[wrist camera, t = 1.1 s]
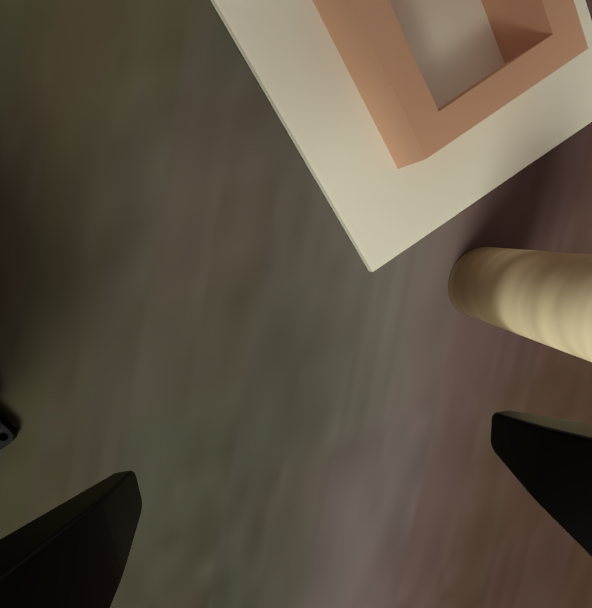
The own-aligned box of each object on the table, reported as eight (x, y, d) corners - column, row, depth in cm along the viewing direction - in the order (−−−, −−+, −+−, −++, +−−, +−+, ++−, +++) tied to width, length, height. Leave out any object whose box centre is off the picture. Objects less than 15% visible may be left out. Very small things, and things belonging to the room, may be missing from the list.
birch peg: (465, 329, 23) (604, 390, 14) (436, 273, 22) (569, 303, 13) (521, 290, 23) (692, 328, 14) (495, 232, 22) (666, 235, 13)
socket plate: (368, 271, 21) (395, 279, 17) (183, -45, 16) (169, -121, 13) (606, 107, 21) (678, 84, 18) (496, -251, 16) (566, -379, 13)
